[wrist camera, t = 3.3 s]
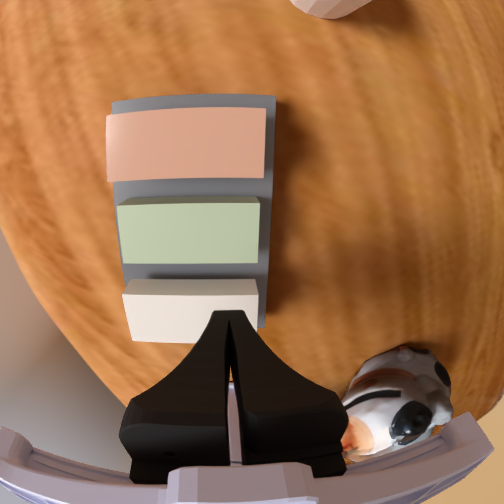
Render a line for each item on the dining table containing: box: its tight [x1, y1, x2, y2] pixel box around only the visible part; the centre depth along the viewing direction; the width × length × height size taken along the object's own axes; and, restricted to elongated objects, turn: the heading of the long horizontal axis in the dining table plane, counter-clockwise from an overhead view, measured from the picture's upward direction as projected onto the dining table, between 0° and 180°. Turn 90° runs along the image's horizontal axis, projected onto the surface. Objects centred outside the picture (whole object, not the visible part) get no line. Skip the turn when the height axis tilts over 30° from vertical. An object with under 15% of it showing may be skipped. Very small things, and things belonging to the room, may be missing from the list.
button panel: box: [112, 94, 276, 328], centre depth 18 cm, size 16×10×2 cm, turn 178°
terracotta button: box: [106, 107, 266, 182], centre depth 14 cm, size 4×8×2 cm, turn 88°
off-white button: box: [122, 279, 259, 343], centre depth 17 cm, size 4×8×2 cm, turn 88°
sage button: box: [117, 196, 260, 264], centre depth 16 cm, size 4×8×2 cm, turn 88°
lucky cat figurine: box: [341, 345, 453, 462], centre depth 22 cm, size 15×12×14 cm
